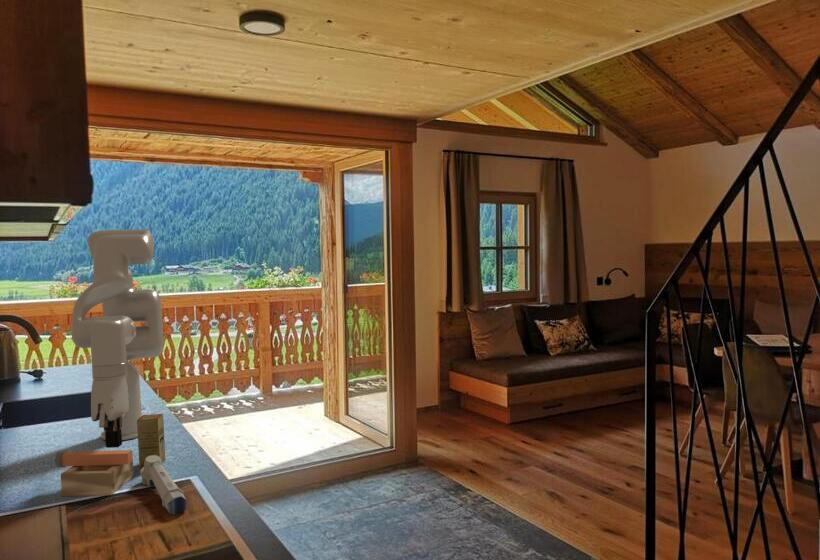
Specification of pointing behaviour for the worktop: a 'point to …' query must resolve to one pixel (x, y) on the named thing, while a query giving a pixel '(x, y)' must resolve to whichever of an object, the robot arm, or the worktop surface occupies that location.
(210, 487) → the worktop surface
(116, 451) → the bar
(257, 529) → the worktop surface
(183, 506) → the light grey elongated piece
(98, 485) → the socket
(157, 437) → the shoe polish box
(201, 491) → the worktop surface
